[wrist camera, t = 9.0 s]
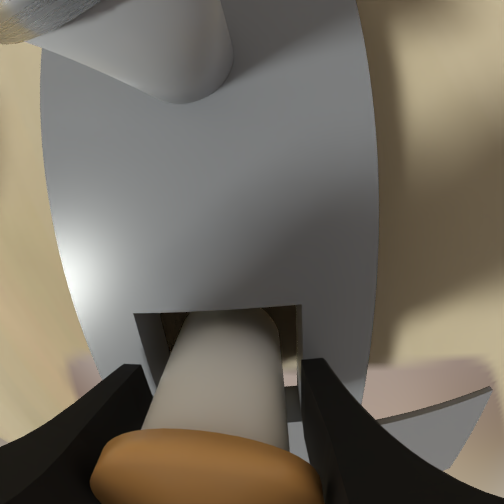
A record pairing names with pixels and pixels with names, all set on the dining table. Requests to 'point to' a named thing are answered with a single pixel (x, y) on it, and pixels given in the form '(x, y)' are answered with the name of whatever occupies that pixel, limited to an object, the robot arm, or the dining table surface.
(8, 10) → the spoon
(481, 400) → the rubber mat
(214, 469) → the mushroom
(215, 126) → the grey panel with tab
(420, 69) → the dining table surface
